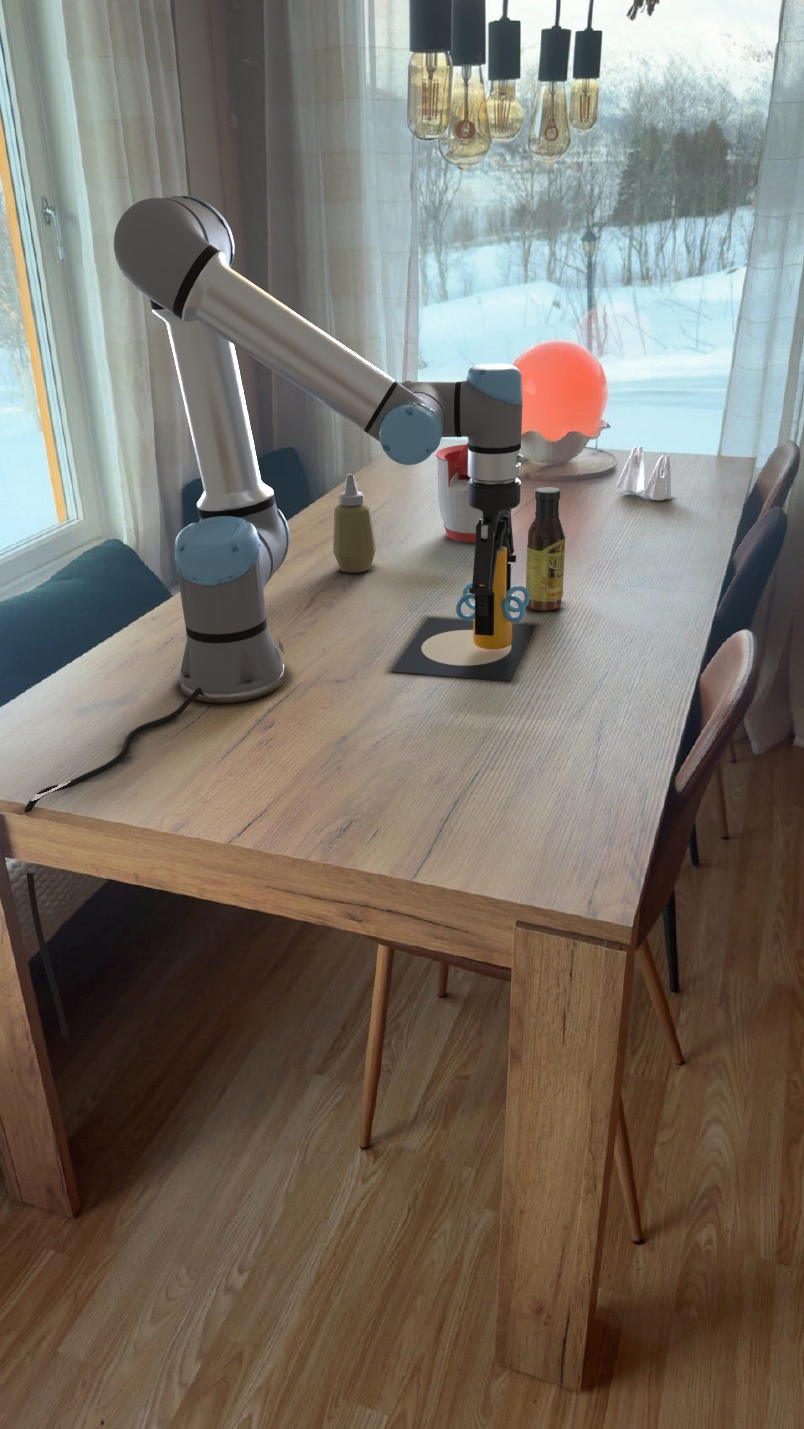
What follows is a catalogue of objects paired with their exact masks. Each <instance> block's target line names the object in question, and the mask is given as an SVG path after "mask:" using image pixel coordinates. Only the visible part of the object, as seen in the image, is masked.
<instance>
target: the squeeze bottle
mask: <svg viewBox="0 0 804 1429" xmlns="http://www.w3.org/2000/svg"><path fill="white" fill-rule="evenodd" d="M338 503H339V504H338V505H337V506H336V507H335V508H334V509H333V510H334V512H333V536H332V537H333V541H332V542H333V543H332V553H333V555H334V557H335V560H336V562H337V564H338V568H339V570H340V571H342V572H344V573H349V574H356V573H357V574H358V573H363V572H367V571H368V570H370V569H371V568H372V566H373V565H372V564H373V561H374V558H375V554H376V552H377V548H376V540H375V534H374V527H373V522H372V521H373V520H372V515H371V507H370V506H369V505H368V504H367V503H365V494H364V492H362V491H358V487H357V483H356V479H355V476H354V473H347V474H346V477H345V484H344V491H343V492H340V493H339V494H338Z"/></svg>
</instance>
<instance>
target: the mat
mask: <svg viewBox="0 0 804 1429" xmlns="http://www.w3.org/2000/svg"><path fill="white" fill-rule="evenodd" d="M535 628H536V624H530V623H529V624H528V623H513V622H512V643H511V644H510V645H509V646H508V647H505V648H502V649H484V648H480V647H478V646H476V645H475V644H474V642H473V620H469V621H465V620H462V619H456V618H440V617H427V618H426V620H425V621H424V623H423V624H422V625H421V628H420V629H419V630H418V631H417V633H416V635H415V636H414V637H413V639H412V640H411V642H410V643H409V644H408V646H407V647H406V649H405V651H404V652H403V653H402V655H401V656H400V657H399V659H398V660H397V662H396V663H395V665H394V666H393V667H392V669H391V670H390V672H391V673H399V674H411V675H412V674H413V675H425V676H436V677H447V678H459V679H460V678H461V679H471V680H473V679H474V680H485V681H496V682H507V683H509V682H511V681H512V679H513V676H514V675H515V672H516V670H517V667H518V666H519V663H520V661H521V659H522V656H523V655H524V651H525V649H526V648H527V646H528V643H529V641H530V638H531V637H532V634H533V632H534V630H535Z"/></svg>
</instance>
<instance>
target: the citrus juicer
mask: <svg viewBox="0 0 804 1429" xmlns="http://www.w3.org/2000/svg"><path fill="white" fill-rule="evenodd" d="M468 443H469V442H467V443H466V444H458V445H451V446H447V447H444V448H442V449H439V450H438V451H437V452H436V454H435V456H436V458H437V460H436V461H437V465H436V466H437V495H438V496H437V497H438V508H439V513H440V517H441V520H442V523H443V527H444V530H445V533H446V534H447V537H448V538H449V539H451V540H453V541H457V542H464V543H476V525H477V524H478V522H479V520H482V511H481V510H479V509H475V508H473V507H471V506H470V505H469V503H468V482H469V481H470V479H471V478H470V477H469V476H468ZM512 510H513V509H511V511H512Z"/></svg>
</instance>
